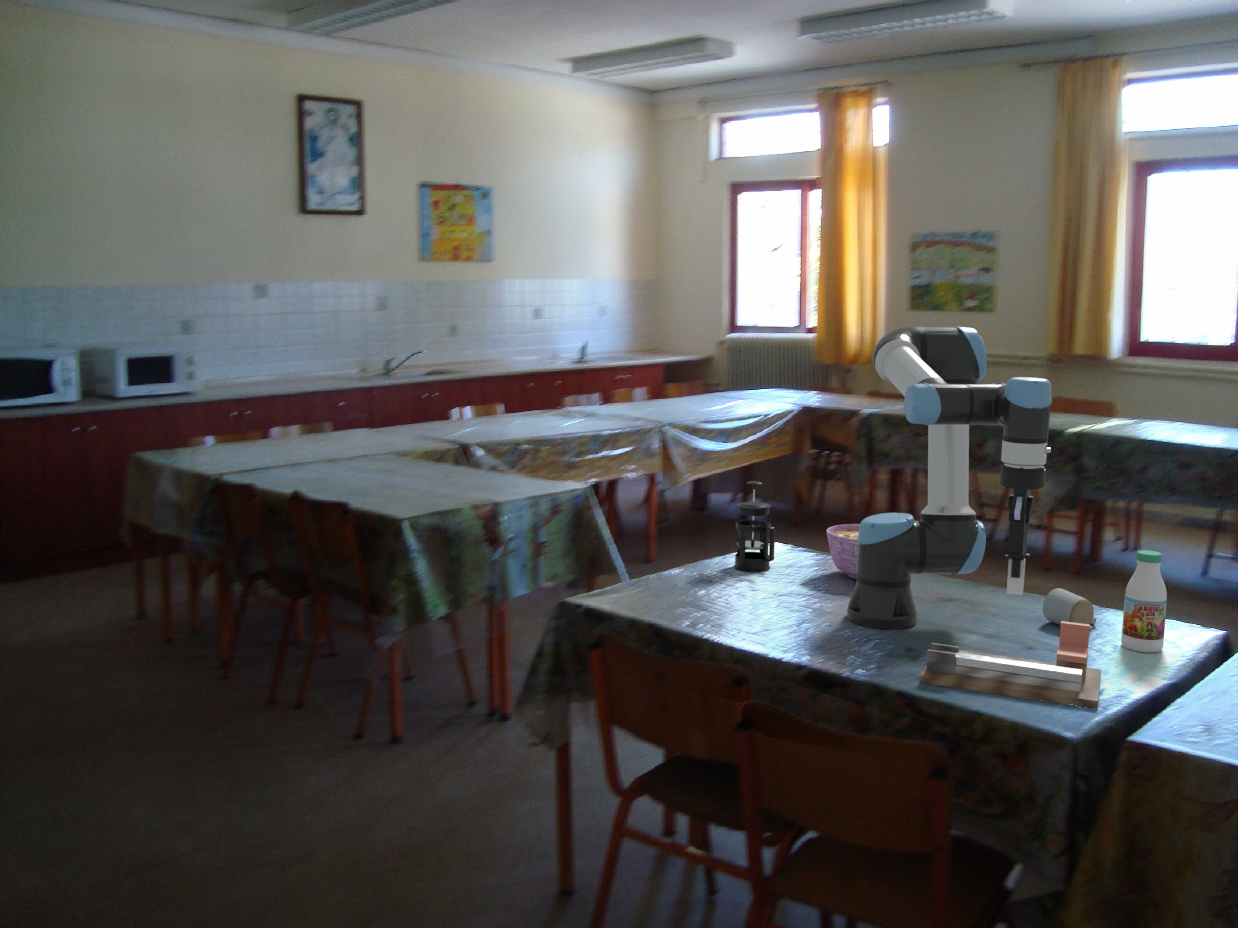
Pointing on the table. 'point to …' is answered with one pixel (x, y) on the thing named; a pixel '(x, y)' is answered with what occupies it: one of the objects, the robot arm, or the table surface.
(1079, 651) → the bracket
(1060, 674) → the tong arm
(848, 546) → the bowl of food
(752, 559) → the french press
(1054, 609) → the ceramic mug
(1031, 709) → the table surface
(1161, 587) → the milk bottle
